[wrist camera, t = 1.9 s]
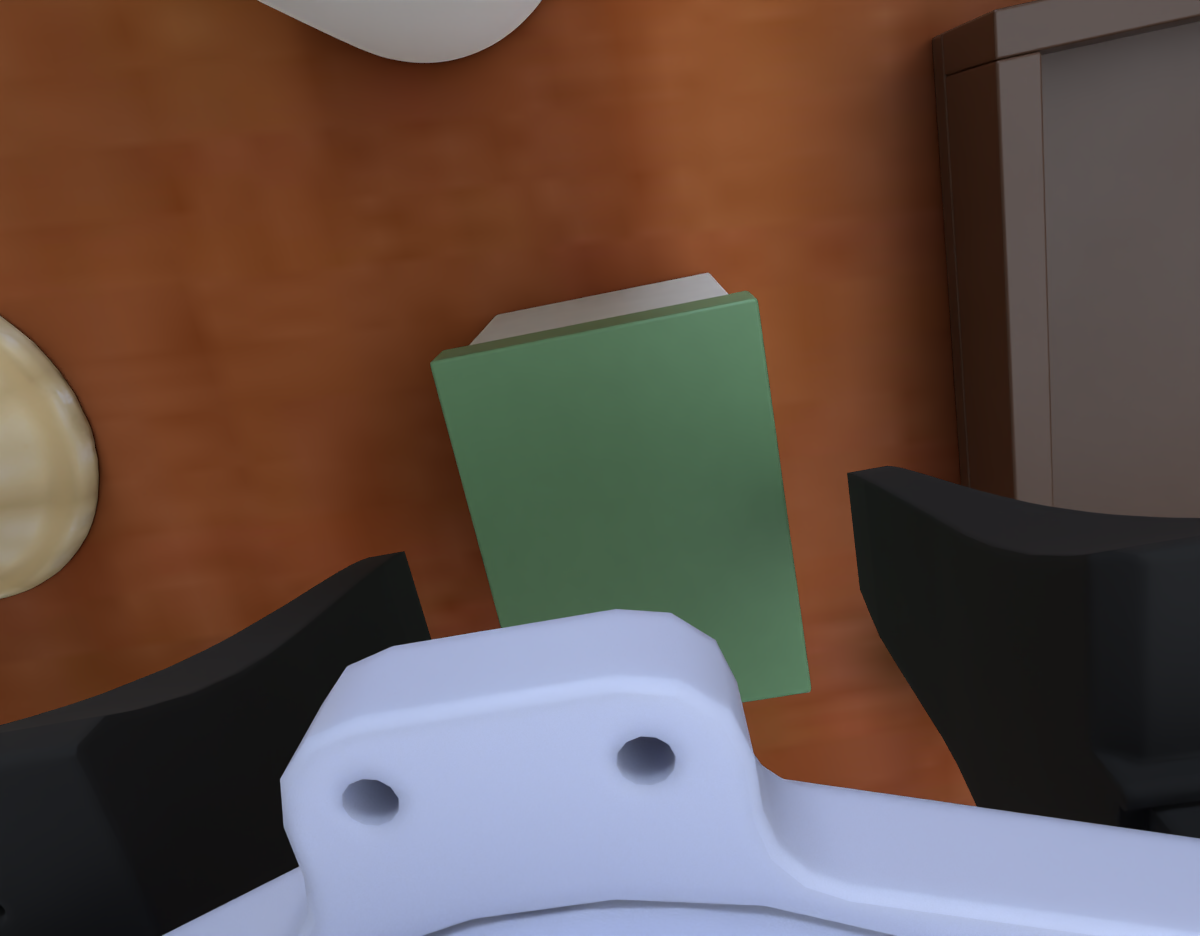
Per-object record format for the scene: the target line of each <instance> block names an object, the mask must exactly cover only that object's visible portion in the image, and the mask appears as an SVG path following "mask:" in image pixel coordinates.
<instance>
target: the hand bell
mask: <svg viewBox="0 0 1200 936" xmlns="http://www.w3.org/2000/svg"><path fill="white" fill-rule="evenodd" d="M98 485H99V472H98V458H97V454H96V450H95V442H94V438H93V434H92V430H91V427H90V425H89V422H88V420H87V418H86V416H85V414H84V413H83V411H82V408H81V406H80V404H79V402H78V399H77V397H76V395H75V394H74V392H73V391H72V389H71V388H70V386H69V385H68V383H67V382H66V380H65V379H64V377H63V376H62V375H61V373H60V372H59V370H58V369H57V368H56V367H55V366H54V365H53V364H52V362H51V361H50V360H49V358H48V357H47V356H46V355H45V354H44V353H43V352H42V351H41V350H40V349H39V347H38V346H37V345H36V344H35V343H34V342H33V341H31V340H30V339H29V338H28V337H26V336H25V335H24V334H23V333H22V332H20V331H19V330H18V329H17V328H15V327H14V326H13V325H12V324H10V323H9V322H8V321H6V320H5V319H4V318H2V317H1V316H0V599H1V598H6V597H10V596H13V595H16V594H19V593H22V592H25V591H27V590H29V589H32V588H34V587H35V586H37V585H39V584H41V583H42V582H44V581H45V580H47V579H49V578H50V577H52V576H53V575H55V574H56V573H57V572H58V571H60V570H61V569H62V568H63V567H64V566H65V565H66V564H67V563H68V562H69V561H70V560H71V558H72V557H73V556H74V555H75V553H76V552H77V551H78V549H79V548H80V546H81V545H82V543H83V541H84V540H85V538H86V536H87V535H88V532H89V530H90V527H91V525H92V522H93V518H94V515H95V511H96V506H97V501H98Z"/></svg>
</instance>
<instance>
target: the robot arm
mask: <svg viewBox="0 0 1200 936" xmlns="http://www.w3.org/2000/svg"><path fill="white" fill-rule="evenodd" d="M847 476H848V485H849V494H850V503H851V512H852V521H853V530H854V539H855V548H856V557H857V566H858V576H859V585H860V590H861V593H862V595H863V598H864V600H865V603H866V605H867V608H868V610H869V612H870V615H871V617H872V620H873V622H874V624H875V626H876V629H877V631H878V633H879V636H880V638H881V639H882V641H883V643H884V644H885V646H886V648H887V649H888V651H889V652H890V654H891V656H892V657H893V659H894V661H895V662H896V664H897V666H898V667H899V669H900V670H901V672H902V674H903V675H904V677H905V678H906V680H907V682H908V683H909V685H910V686H911V688H912V690H913V691H914V693H915V694H916V696H917V698H918V699H919V701H920V702H921V704H922V706H923V707H924V709H925V710H926V712H927V714H928V715H929V717H930V718H931V720H932V722H933V723H934V725H935V726H936V728H937V730H938V731H939V733H940V734H941V736H942V738H943V739H944V741H945V743H946V745H947V746H948V748H949V750H950V752H951V754H952V755H953V757H954V759H955V761H956V763H957V765H958V767H959V769H960V771H961V773H962V775H963V778H964V780H965V782H966V784H967V786H968V788H969V790H970V792H971V795H972V797H973V799H974V801H975V803H976V805H977V807H975V806H968V805H961V804H954V803H947V802H940V801H933V800H926V799H919V798H912V797H905V796H898V795H891V794H884V793H877V792H870V791H863V790H856V789H849V788H842V787H835V786H828V785H821V784H814V783H807V782H800V781H793V780H786V779H783V778H780V777H779V776H777V775H776V774H774V773H773V772H771V771H770V770H768V769H767V768H765V767H764V766H762V765H761V764H760V762H759V761H758V759H757V758H756V756H755V755H754V753H753V749H752V745H751V740H750V736H749V732H748V727H747V723H746V719H745V714H744V710H743V706H742V701H741V697H740V693H739V688H738V684H737V681H736V679H735V677H734V675H733V673H732V671H731V669H730V667H729V665H728V663H727V661H726V660H725V658H724V656H723V654H722V652H721V650H720V648H719V646H718V644H717V642H716V640H715V639H713V638H711V637H710V636H708V635H706V634H705V633H703V632H702V631H700V630H698V629H697V628H695V627H693V626H692V625H690V624H689V623H687V622H685V621H684V620H682V619H680V618H679V617H677V616H675V615H674V614H672V613H668V612H653V611H638V610H623V609H613V610H607V611H601V612H595V613H589V614H583V615H577V616H571V617H565V618H559V619H553V620H547V621H541V622H535V623H529V624H523V625H517V626H511V627H505V628H499V629H493V630H487V631H481V632H475V633H469V634H463V635H457V636H451V637H445V638H439V639H433V640H431V637H430V634H429V631H428V627H427V624H426V621H425V618H424V614H423V611H422V608H421V604H420V601H419V598H418V594H417V591H416V588H415V585H414V581H413V578H412V575H411V571H410V568H409V565H408V561H407V558H406V555H405V552H404V551H403V552H398V553H392V554H386V555H381V556H375V557H369V558H366V559H364V560H361V561H358V562H356V563H354V564H352V565H350V566H348V567H347V568H345V569H343V570H341V571H339V572H338V573H336V574H334V575H333V576H331V577H329V578H328V579H326V580H324V581H323V582H321V583H320V584H318V585H316V586H315V587H313V588H312V589H310V590H308V591H307V592H305V593H304V594H302V595H300V596H299V597H297V598H296V599H294V600H292V601H291V602H289V603H288V604H286V605H284V606H283V607H281V608H279V609H278V610H276V611H274V612H273V613H271V614H269V615H268V616H266V617H264V618H262V619H261V620H259V621H257V622H256V623H254V624H252V625H250V626H249V627H247V628H245V629H244V630H242V631H240V632H238V633H237V634H235V635H233V636H231V637H230V638H228V639H226V640H224V641H222V642H220V643H218V644H216V645H214V646H212V647H210V648H208V649H207V650H204V651H202V652H200V653H198V654H196V655H194V656H192V657H190V658H188V659H186V660H183V661H181V662H179V663H177V664H175V665H173V666H170V667H168V668H166V669H164V670H161V671H159V672H156V673H154V674H151V675H149V676H146V677H144V678H141V679H139V680H136V681H133V682H131V683H128V684H126V685H123V686H121V687H118V688H116V689H113V690H111V691H108V692H106V693H103V694H100V695H97V696H95V697H92V698H89V699H86V700H83V701H80V702H77V703H74V704H71V705H68V706H65V707H61V708H58V709H55V710H52V711H48V712H45V713H42V714H39V715H35V716H32V717H29V718H25V719H21V720H18V721H14V722H11V723H7V724H3V725H0V936H1200V518H1173V517H1148V516H1131V515H1114V514H1104V513H1094V512H1086V511H1079V510H1072V509H1065V508H1058V507H1051V506H1045V505H1040V504H1034V503H1029V502H1025V501H1020V500H1016V499H1012V498H1007V497H1003V496H999V495H994V494H991V493H987V492H983V491H979V490H976V489H972V488H969V487H965V486H962V485H958V484H955V483H952V482H948V481H945V480H942V479H938V478H935V477H932V476H928V475H925V474H922V473H918V472H915V471H911V470H907V469H903V468H899V467H893V466H885V467H879V468H873V469H868V470H862V471H856V472H851V473H847Z"/></svg>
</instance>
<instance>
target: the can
mask: <svg viewBox="0 0 1200 936" xmlns="http://www.w3.org/2000/svg"><path fill="white" fill-rule="evenodd" d="M257 1H260V2H262V3H264V4H266V5H268V6H270V7H272V8H274V9H276V10H278V11H280V12H282V13H284V14H286V15H289V16H291V17H293V18H295V19H297V20H299V21H301V22H303V23H305V24H307V25H309V26H311V27H314V28H316V29H318V30H320V31H322V32H324V33H326V34H328V35H330V36H333V37H335V38H337V39H339V40H341V41H344V42H346V43H348V44H350V45H352V46H355V47H357V48H359V49H362V50H364V51H367V52H369V53H372V54H375V55H378V56H381V57H385V58H389V59H393V60H398V61H404V62H413V63H435V62H444V61H450V60H455V59H459V58H463V57H466V56H469V55H472V54H474V53H477V52H479V51H481V50H484V49H486V48H488V47H490V46H491V45H493V44H495V43H497V42H498V41H500V40H501V39H503V38H504V37H506V36H507V35H508V34H510V33H511V32H512V31H513V30H515V29H516V28H517V27H518V26H519V25H520V24H521V23H522V22H524V21H525V19H526V18H527V17H528V16H529V15H530V14H531V13H532V12H533V11H534V10H535V8H536V7H537V6H538V5H539V3H540V2H541V1H542V0H257Z"/></svg>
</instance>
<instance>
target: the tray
mask: <svg viewBox="0 0 1200 936" xmlns="http://www.w3.org/2000/svg"><path fill="white" fill-rule="evenodd" d="M932 47H933V62H934V77H935V93H936V108H937V124H938V139H939V154H940V170H941V185H942V200H943V216H944V231H945V246H946V262H947V277H948V293H949V308H950V323H951V339H952V354H953V369H954V385H955V400H956V415H957V431H958V446H959V462H960V477H961V485H962V486H965V487H969V488H972V489H976V490H979V491H983V492H987V493H991V494H994V495H999V496H1003V497H1007V498H1012V499H1016V500H1020V501H1025V502H1029V503H1034V504H1040V505H1045V506H1051V507H1058V508H1065V509H1072V510H1079V511H1086V512H1094V513H1104V514H1114V515H1131V516H1148V517H1173V518H1200V0H1037V1H1032V2H1027V3H1023V4H1018V5H1014V6H1009V7H1005V8H1000V9H996V10H993V11H991V12H989V13H987V14H984V15H982V16H980V17H978V18H975V19H973V20H971V21H969V22H966V23H964V24H962V25H960V26H958V27H955V28H953V29H951V30H949V31H946V32H944V33H942V34H940V35H938V36H936V37H934V38H933V40H932Z"/></svg>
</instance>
